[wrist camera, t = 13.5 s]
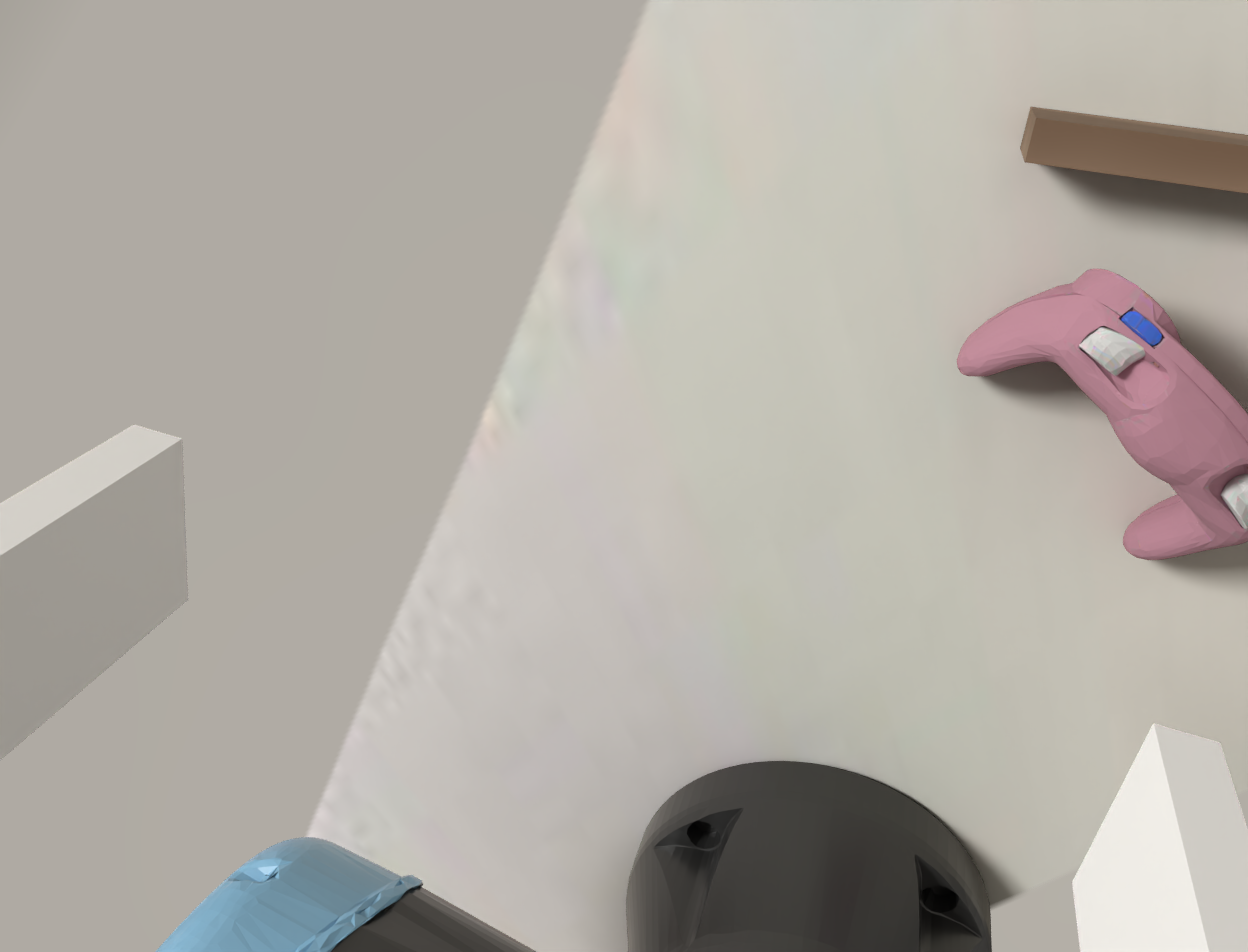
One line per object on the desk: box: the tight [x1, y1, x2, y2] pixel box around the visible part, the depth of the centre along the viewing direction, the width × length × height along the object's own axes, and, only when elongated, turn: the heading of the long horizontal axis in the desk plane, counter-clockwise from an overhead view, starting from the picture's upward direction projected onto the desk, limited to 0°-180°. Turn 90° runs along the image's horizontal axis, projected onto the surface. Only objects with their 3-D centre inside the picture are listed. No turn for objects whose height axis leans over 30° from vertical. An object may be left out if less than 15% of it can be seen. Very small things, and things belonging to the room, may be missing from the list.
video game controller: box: [957, 269, 1248, 560], centre depth 33 cm, size 10×5×7 cm, turn 45°
